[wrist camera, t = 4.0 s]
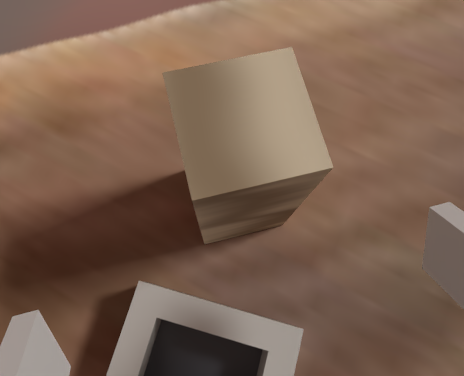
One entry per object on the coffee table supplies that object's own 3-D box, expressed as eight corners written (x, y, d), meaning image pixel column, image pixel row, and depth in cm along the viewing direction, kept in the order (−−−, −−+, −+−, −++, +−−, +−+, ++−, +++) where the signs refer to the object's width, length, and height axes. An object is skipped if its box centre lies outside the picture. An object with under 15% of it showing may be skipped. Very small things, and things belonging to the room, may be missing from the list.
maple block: (260, 152, 25) (292, 46, 14) (282, 225, 24) (333, 167, 13) (187, 169, 24) (162, 72, 14) (204, 244, 23) (191, 200, 13)
